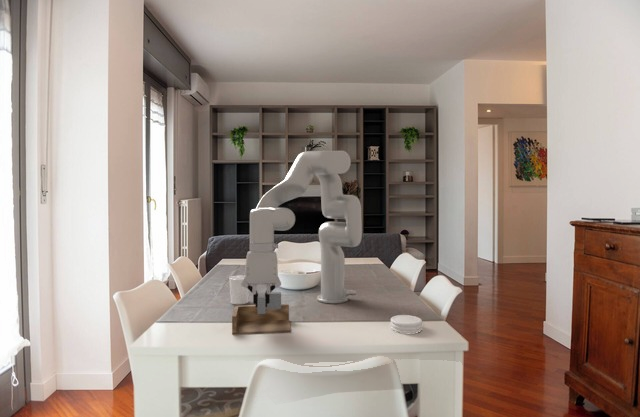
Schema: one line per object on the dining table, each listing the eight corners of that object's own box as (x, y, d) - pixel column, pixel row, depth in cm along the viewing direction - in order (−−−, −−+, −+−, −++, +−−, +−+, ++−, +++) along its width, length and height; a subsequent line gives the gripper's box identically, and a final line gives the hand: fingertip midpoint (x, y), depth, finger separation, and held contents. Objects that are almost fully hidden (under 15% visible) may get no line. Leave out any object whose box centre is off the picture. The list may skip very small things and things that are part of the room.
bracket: (257, 307, 138) (258, 292, 138) (280, 307, 139) (280, 292, 139) (257, 313, 130) (257, 297, 130) (281, 313, 131) (281, 297, 131)
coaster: (402, 336, 130) (402, 325, 130) (384, 326, 139) (384, 316, 139) (428, 332, 134) (428, 321, 134) (410, 323, 143) (410, 313, 143)
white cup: (245, 305, 163) (245, 279, 162) (226, 304, 164) (225, 278, 164) (252, 300, 171) (252, 275, 170) (234, 299, 172) (234, 274, 172)
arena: (288, 320, 145) (288, 304, 145) (290, 332, 133) (290, 314, 133) (235, 322, 143) (234, 305, 142) (232, 334, 131) (232, 316, 131)
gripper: (286, 246, 138) (286, 302, 139) (236, 246, 136) (236, 303, 137) (287, 249, 131) (287, 308, 132) (234, 249, 129) (234, 309, 130)
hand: (261, 305), depth 134 cm, fingers closed on bracket
